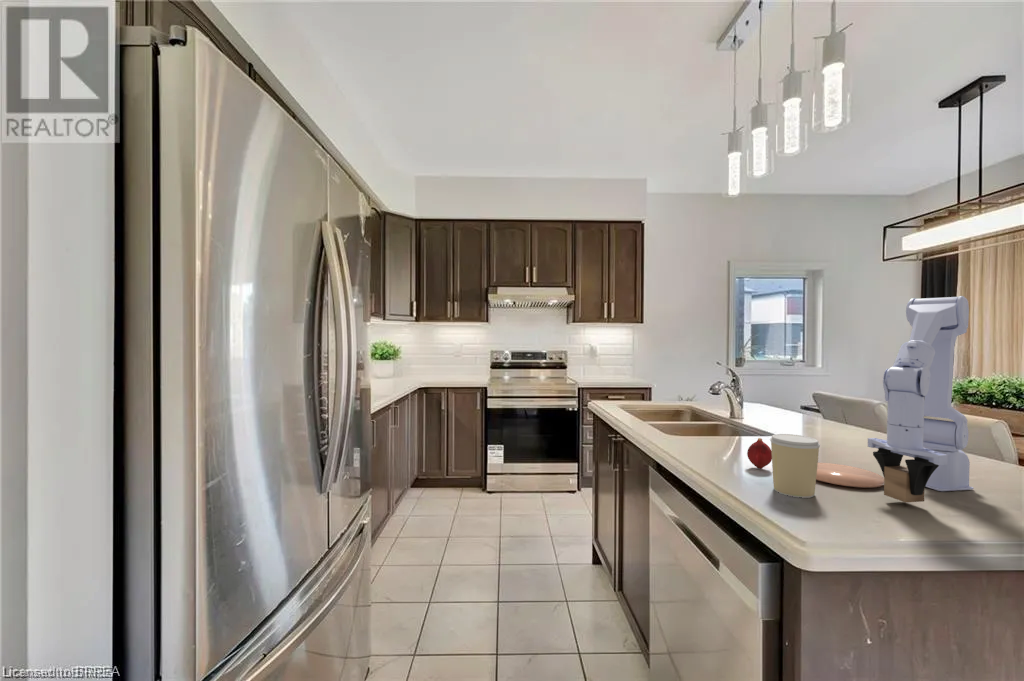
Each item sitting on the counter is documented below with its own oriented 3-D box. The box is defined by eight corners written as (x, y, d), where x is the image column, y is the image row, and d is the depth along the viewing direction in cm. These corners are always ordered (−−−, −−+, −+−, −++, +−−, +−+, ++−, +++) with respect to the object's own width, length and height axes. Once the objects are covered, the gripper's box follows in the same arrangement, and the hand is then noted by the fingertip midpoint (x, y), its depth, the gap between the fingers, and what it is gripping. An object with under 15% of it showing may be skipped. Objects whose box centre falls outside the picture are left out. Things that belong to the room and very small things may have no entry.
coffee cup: (814, 488, 103) (815, 436, 103) (823, 502, 95) (824, 444, 95) (767, 482, 107) (768, 432, 107) (771, 495, 99) (772, 440, 98)
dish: (838, 467, 121) (838, 461, 121) (903, 488, 104) (904, 481, 104) (782, 469, 118) (782, 463, 118) (840, 491, 101) (840, 485, 101)
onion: (775, 472, 115) (776, 441, 115) (751, 471, 116) (751, 440, 116) (767, 466, 121) (768, 436, 121) (744, 464, 122) (744, 435, 122)
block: (901, 493, 97) (902, 465, 96) (924, 501, 92) (924, 471, 92) (883, 494, 96) (884, 466, 96) (905, 502, 91) (906, 473, 91)
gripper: (856, 418, 100) (855, 479, 100) (926, 432, 86) (925, 504, 86) (883, 418, 101) (882, 478, 102) (957, 431, 87) (955, 502, 87)
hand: (903, 490), depth 94 cm, fingers closed on block, 4 cm apart
